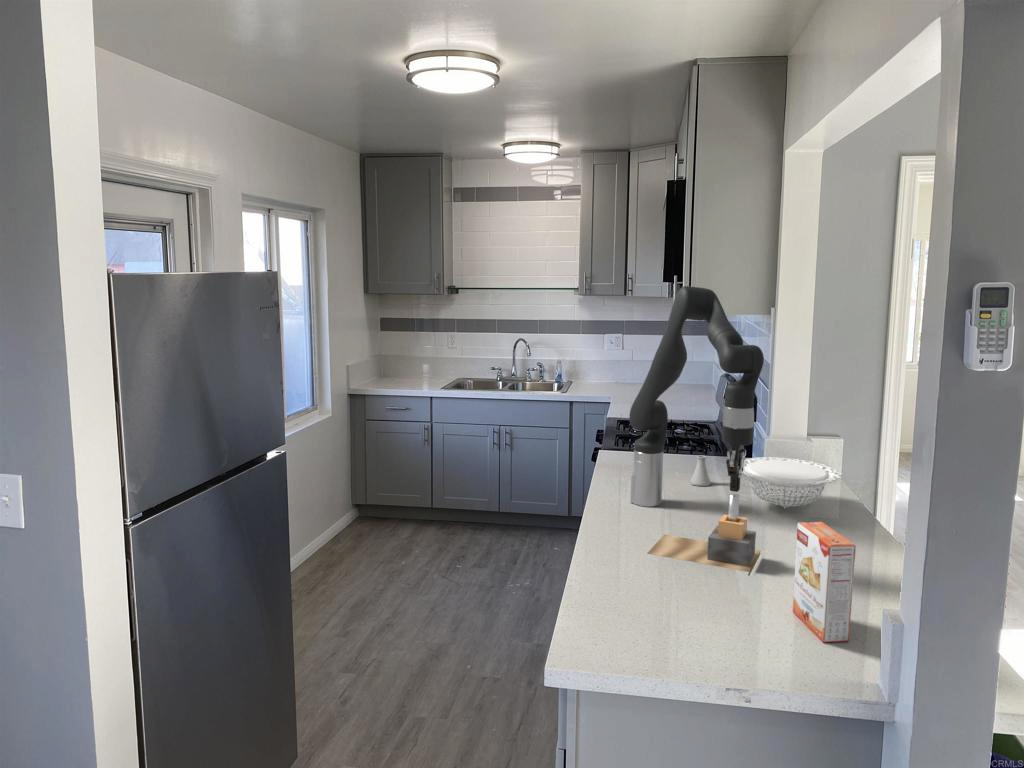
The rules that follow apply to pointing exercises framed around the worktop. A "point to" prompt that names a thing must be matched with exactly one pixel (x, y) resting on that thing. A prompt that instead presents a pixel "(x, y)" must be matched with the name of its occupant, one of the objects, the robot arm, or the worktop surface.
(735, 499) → the steel shaft
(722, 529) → the block
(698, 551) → the bearing block
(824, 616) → the cracker box
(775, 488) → the white openwork bowl
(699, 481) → the flask
